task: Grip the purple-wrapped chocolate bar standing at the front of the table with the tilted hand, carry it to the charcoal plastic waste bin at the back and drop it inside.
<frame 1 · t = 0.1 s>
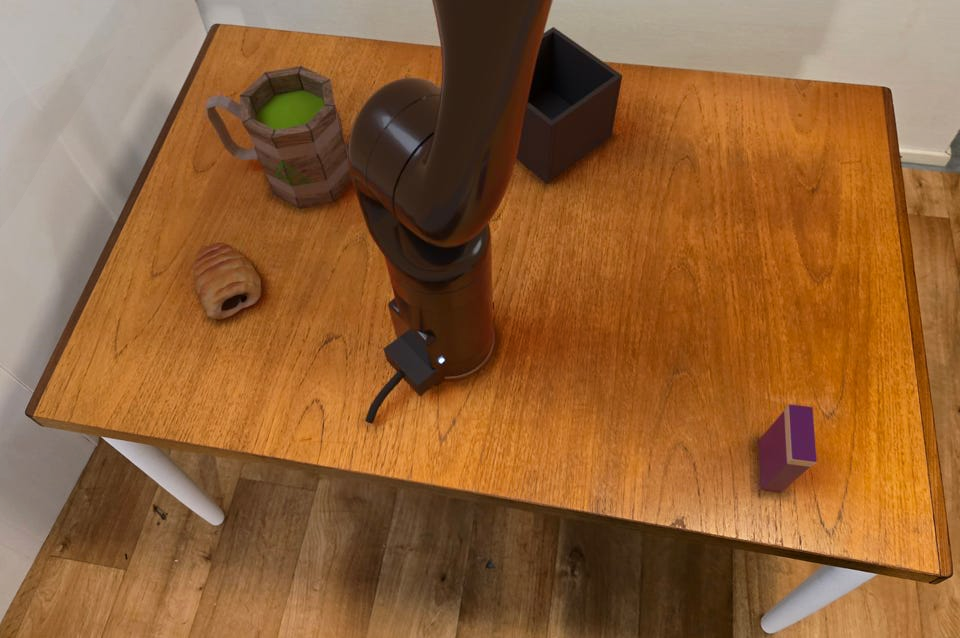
mug: (293, 172, 91), on the table
ramekin: (403, 203, 89), on the table
pastry: (228, 288, 83), on the table
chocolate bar: (770, 465, 71), on the table
waste bin: (548, 134, 93), on the table
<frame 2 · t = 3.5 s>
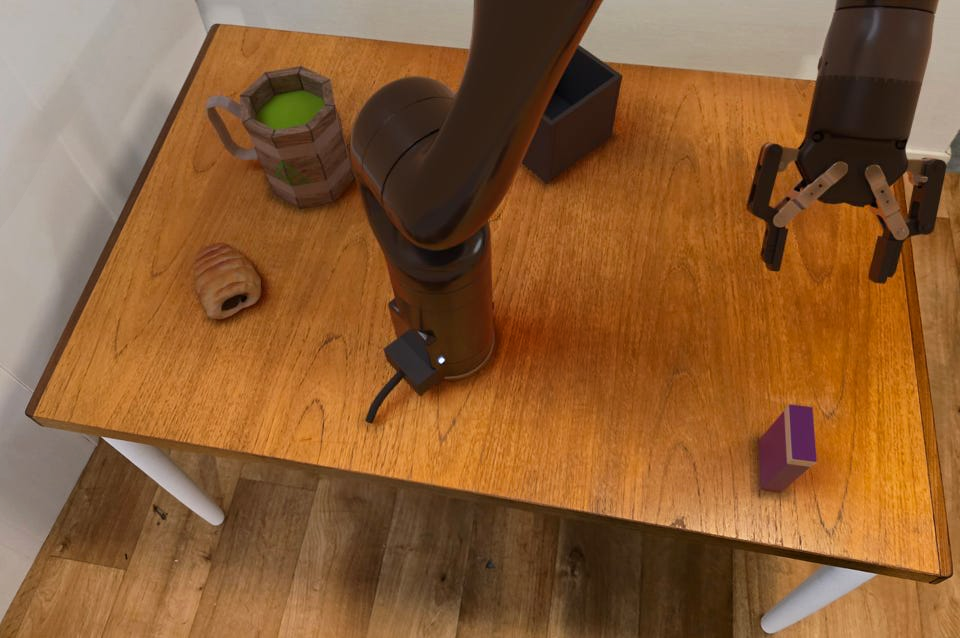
hand: (824, 275, 63), 16 cm above the table, tool tilted 45°, fingers open, 8 cm apart
nothing on the table moved.
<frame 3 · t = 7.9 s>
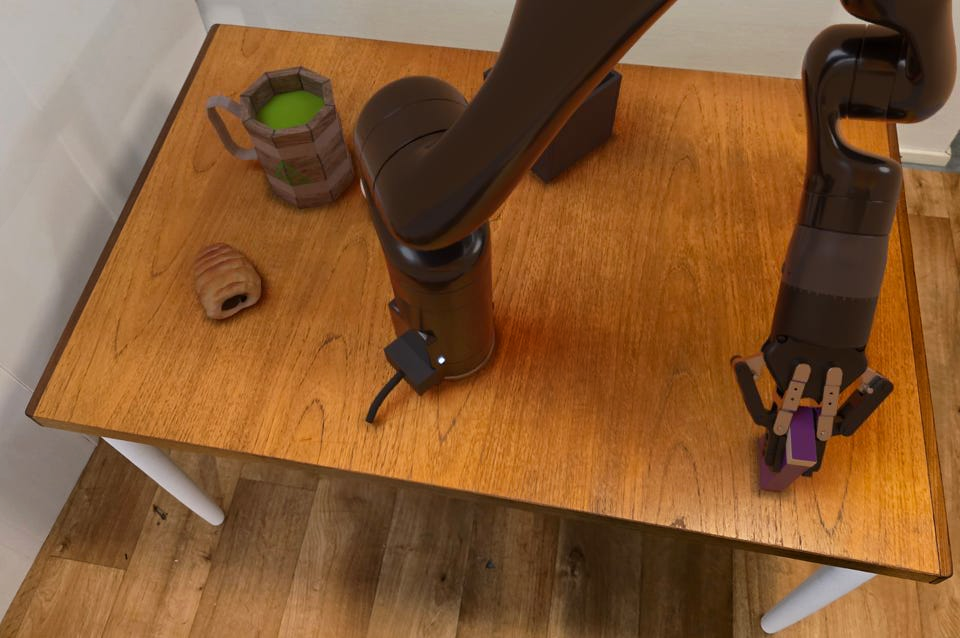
hand: (788, 470, 66), 5 cm above the table, tool tilted 45°, fingers closed on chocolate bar, 2 cm apart
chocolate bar: (770, 465, 71), on the table, touching gripper
everything else where it was.
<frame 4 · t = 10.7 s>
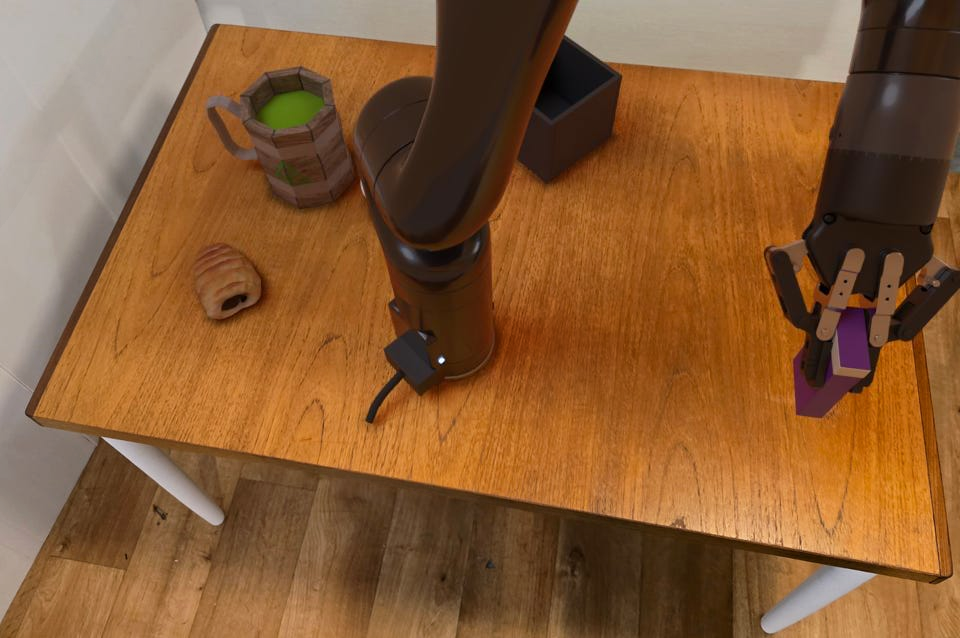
hand: (832, 386, 55), 19 cm above the table, tool tilted 45°, fingers closed on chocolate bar
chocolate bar: (806, 388, 60), point 14 cm above the table, touching gripper
everything else where it was.
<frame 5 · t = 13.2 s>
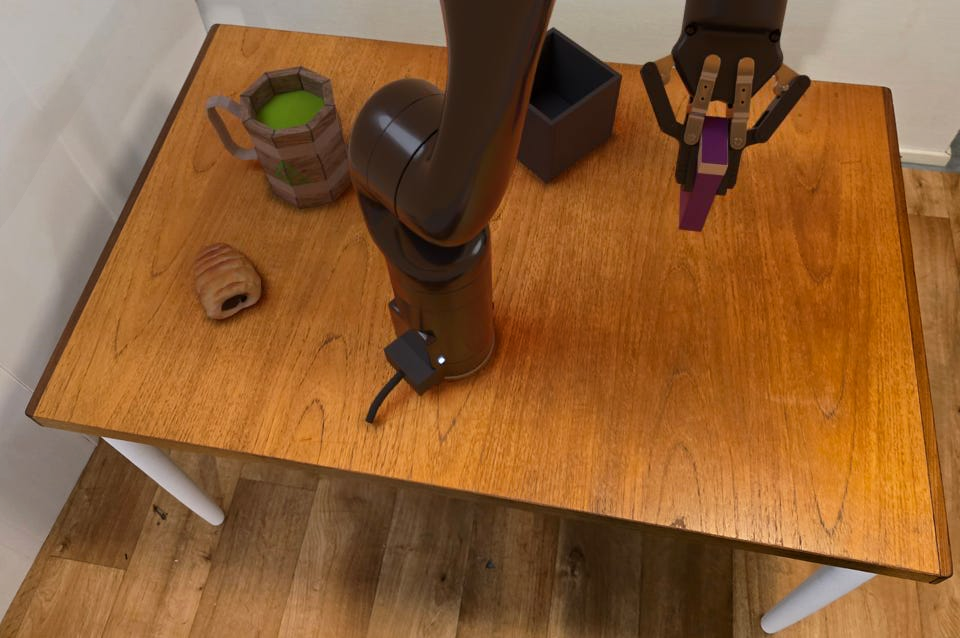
hand: (703, 192, 62), 21 cm above the table, tool tilted 45°, fingers closed on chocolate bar
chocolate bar: (690, 208, 67), point 16 cm above the table, touching gripper
everything else where it was.
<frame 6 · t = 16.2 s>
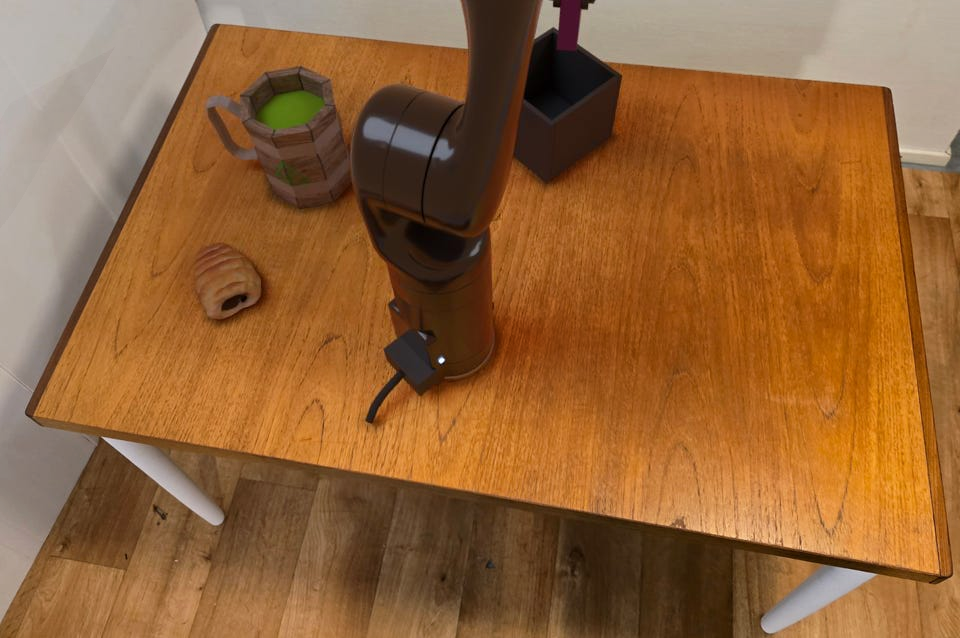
hand: (570, 6, 72), 22 cm above the table, tool tilted 45°, fingers closed on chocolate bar
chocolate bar: (568, 33, 77), point 17 cm above the table, touching gripper
everything else where it was.
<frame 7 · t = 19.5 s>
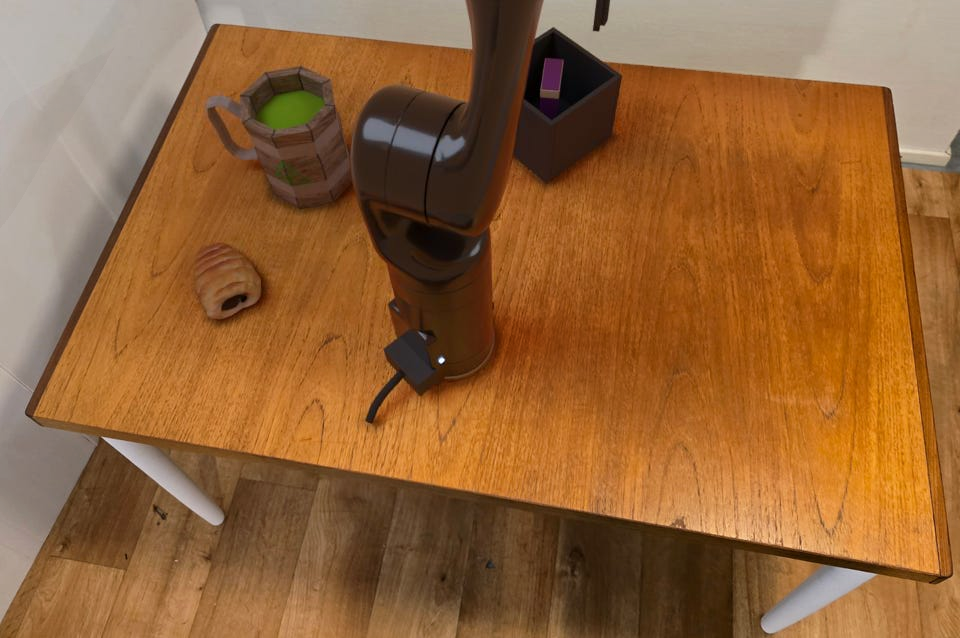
hand: (555, 27, 77), 17 cm above the table, tool tilted 45°, fingers open, 8 cm apart
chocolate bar: (548, 130, 92), point 1 cm above the table, touching waste bin
everything else where it was.
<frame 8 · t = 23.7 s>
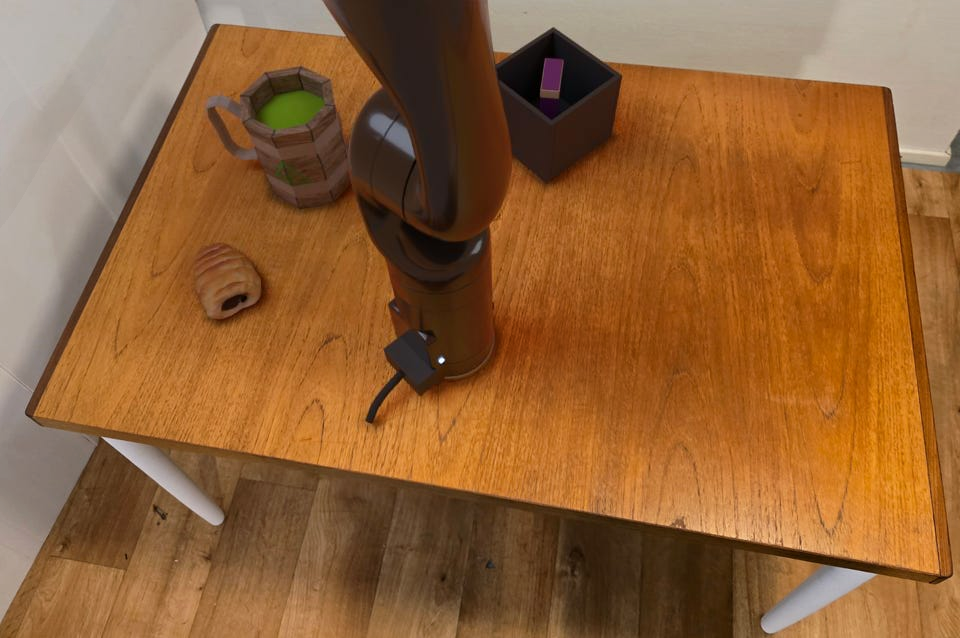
nothing on the table moved.
at the end: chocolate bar inside the target area in the waste bin (0.0 cm from its centre), point 0.8 cm above the waste bin's base; the gripper is holding nothing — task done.
